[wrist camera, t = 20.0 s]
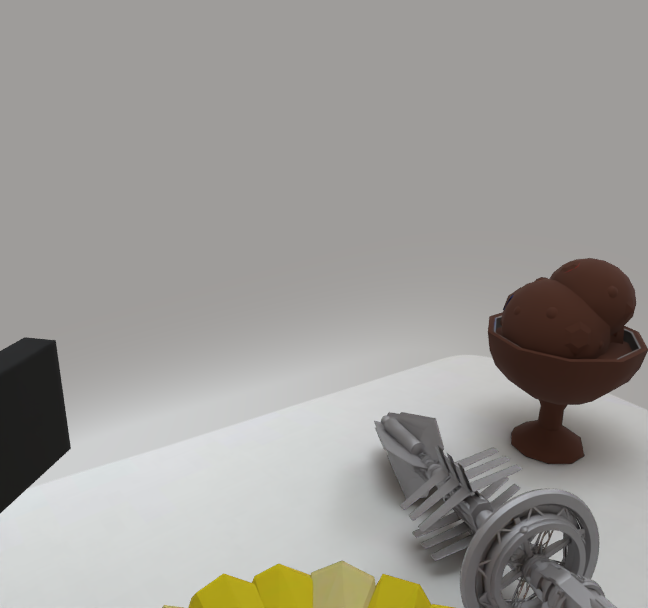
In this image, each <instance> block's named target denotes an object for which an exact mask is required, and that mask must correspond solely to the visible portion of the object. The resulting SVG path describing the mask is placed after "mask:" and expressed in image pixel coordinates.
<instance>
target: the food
mask: <svg viewBox="0 0 648 608" xmlns="http://www.w3.org/2000/svg"><path fill="white" fill-rule="evenodd" d="M162 608H182V607H175V606H167V605H164V606H163V607H162ZM189 608H454V607H448V606H441V605H435V604H432V605H431V604H430V602H429V600H428V598H427V596H426V595H425V593H424V591H423V589H422V588H421V586H420V584H416V583H413V582H409V581H406V580H402V579H399V578H395V577H392V576H389V575H385V574H382V576H381V578H380V580H379V581H378V583H377V585H375V579H374V577H373V576H371V575H369V574H367V573H365V572H363V571H361V570H359V569H357V568H355V567H353V566H352V565H350V564H348V563H346V562H344V561H340V562H337V563H335V564H332V565H330V566H327V567H325V568H322V569H320V570H317V571H314V572H312V573H311V575H308V574H306V573H303V572H300V571H297V570H295V569H292V568H289V567H286V566H284V565H281V564H277V565H275V566H273V567H271V568H269V569H267V570H266V571H264V572H262V573H260V574H258V575H256V576H254V579H253V581H252V583H250V582H247V581H244V580H241V579H238V578H235V577H232V576H229V575H227V574H222V575H221V576H219V577H218V578H217V579H215V580H214V581H212V582H211V583H209V584H208V585H207V586H205V587H204V588H202V589H201V590H200V591H198V592H197V593H196V594H195V595H194V596H193V597H192V598H191V601H190V604H189Z"/></svg>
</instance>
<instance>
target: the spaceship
mask: <svg viewBox="0 0 648 608" xmlns="http://www.w3.org/2000/svg"><path fill="white" fill-rule="evenodd" d="M374 422H375V425H376V428H375V429H376V431H377V434H378V436H379V438H380V441H381V443H382V445H383V448H384V449H385V450H386V451H387V456H388V459H389V461H390V463H391V466H392V468H393V470H394V473H395V475H396V477H397V480H398V482H399V484H400V487H401V489H402V491H403V493H404V496H405V498H406V500H405V501H404V502H403V503H402V504H401V505H400V506H401V507H402V509H403V510H405V509H407V508H408V507H409V506H410V505H412V504H413V503H414V502H415V501H417V500H418V499H419V498H426V497H428V494H429V492H430V490H431V489H432V488H433V487H434V486H436V487H437V488H438V490H437V491H436V492H434V493H433V494H432V495H431V496H430V497H429V498H428V499H427V500H425V501H424V502H423V503H422V504H421V505H420V506H419V507H418V508H416V509H415V510H414V511H413V512H412V513H411V514H410V515H409V517H410V518H411V519H412V520H415V519H416V518H418V517H419V516H420V515H421V514H423V513H424V512H425V511H426V510H428V509H429V508H430V507H431V506H433V505H434V504H435V503H436V502H438V501H439V500H440V499H441V498H443V500H444V502H445V503H444V504H442V505H441V506H440V507H439V508H438V509H437V510H436V511H435V512H433V513H432V514H431V515H430V516H429V517H428V518H427V519H426V520H424V521H423V522H422V523H421V524H420V525H419V526H418V527H419V529H418V530H416V531H414V532H412V533H413V535H414V536H415V537H416V538H417V537H420V536H422V535H425V534H427V533H429V532H432V531H434V530H437V529H439V528H441V527H444V526H446V525H449V524H451V523H453V522H456V521H458V520H461V519H462V520H463V521H464V522H463V523H461V524H459V525H457V526H455V527H453V528H451V529H449V530H447V531H445V532H443V533H441V534H439V535H437V536H435V537H433V538H430V539H428V540H426V541H424V542H422V543H421V544H422V546H423V547H424V548H425V549H427V548H429V547H432V546H434V545H437V544H439V543H441V542H444V541H446V540H448V539H451V538H453V537H456V536H458V535H460V534H463V533H465V532H467V531H468V532H469V533H470V534H471V535H469V536H467V537H465V538H463V539H461V540H459V541H457V542H455V543H453V544H451V545H449V546H447V547H445V548H443V549H441V550H439V551H437V552H435V553H433V554H431V557H432V558H433V559H434V560H435V561H437V560H439V559H441V558H444V557H446V556H448V555H451V554H453V553H455V552H458V551H460V550H462V549H465V548H467V547H468V548H467V550H466V553H465V556H464V559H463V563H462V567H461V574H460V590H461V597H462V601H463V605H464V608H617V607H615V606H614V605H613V604H612V603H611V602H610V601H609V600H607V599H606V598H605V595H604V593H603V591H602V589H601V587H600V586H599V585H598V583H596V582H595V581H593V580H591V578H592V575H593V573H594V570H595V567H596V564H597V559H598V554H599V533H598V528H597V524H596V522H595V519H594V517H593V515H592V513H591V511H590V509H589V508H588V506H587V505H586V504H585V503H584V502H583V501H582V500H581V499H580V498H578V497H577V496H575V495H574V494H571V493H569V492H566V491H563V490H558V489H538V490H533V491H529V492H526V493H523V494H520V495H518V496H516V497H514V498H512V499H511V500H509V501H507V500H508V499H509V498H510V497H512V496H513V495H514V494H515V493H516V492H517V491H518V490H519V489H520V487H519V486H517V485H516V484H513V485H512V486H511V487H510V488H508V489H507V490H506V491H505V492H503V493H502V494H501V495H500V496H498V497H497V498H496V499H495V500H493V501H492V502H491V503H490V502H489V501H488V500H487V499H488V498H489V497H490V496H491V495H492V494H493V493H494V492H495V491H496V490H498V489H499V488H500V487H501V486H502V485H503V484H504V483H505V482H506V481H508V478H507V476H509V475H511V474H513V473H515V472H518V471H520V470H522V468H521V467H520V466H518V465H513V466H511V467H508V468H506V469H503V470H501V471H499V472H496V473H494V474H491V475H489V476H486V477H484V478H481V479H479V480H476V481H474V482H471V483H469V481H468V479H471V478H473V477H475V476H477V475H479V474H481V473H484V472H486V471H488V470H490V469H492V468H494V467H497V466H499V465H501V464H503V463H505V462H507V461H509V460H510V459H509V458H507V457H506V456H502V457H500V458H497V459H495V460H492V461H490V462H487V463H485V464H482V465H480V466H477V467H474V468H472V469H469V470H467V471H464V469H463V468H464V467H466V466H468V465H471V464H473V463H475V462H477V461H479V460H482V459H484V458H486V457H488V456H491V455H493V454H495V453H497V452H499V451H498V450H496V449H495V448H491V449H488V450H485V451H483V452H480V453H478V454H475V455H473V456H470V457H468V458H465V459H462V460H460V461H457V462H455V463H454V461H453V459H452V457H451V456H450V455H449V454H448V453H447V455H448V458H449V459H448V458H447V457H446V456H445V455H444V453H443V450H444V446H443V442H442V439H441V435H440V432H439V428H438V425H437V421H436V418H431V417H425V416H419V415H414V414H408V413H403V412H401V413H400V414H396V413H390V412H389V413H388V415H387V416H384V417H382V419H381V422H377V421H374ZM490 484H491V485H490ZM488 485H490V486H489V487H487V488H486V489H485V490H484V491H482V492H481V493H479V492H478V491H477V490H479V489H481V488H484V487H486V486H488ZM506 501H507V502H506ZM505 502H506V503H505ZM451 509H453V510H454V511H455V512H453V513H451V514H449V515H447V516H445V517H443V516H444V515H445V514H446V513H448V512H449V511H450V510H451ZM441 517H443V518H441ZM440 518H441V519H440ZM576 519H577V520H576ZM579 520H580V521H579ZM577 521H578V522H577ZM578 523H579V524H578ZM579 525H580V527H581V529H580V527H579ZM550 530H552V532H551V534H550ZM553 530H558V531H561V532H563V539H562V540H559V541H557V542H555V543H553V544H551V545H550V546H548V547H547V545H548V542H549V540H550V537H551V535H552V533H553ZM471 531H472V532H473V534H472V532H471ZM543 531H545V532H544V534H543V537H542V539H541V542H540V544H538V543H539V539H540V536H541V534H542V532H543ZM546 531H547V532H546ZM548 531H549V539H548V541H547V542H546V543H544V544H543V545H542V540H543V538H544V536H545V535H546V534H547V533H548ZM538 533H540V534H539V536H538V538H537V541H536V543H535V544H531V541H532V540H533V539H534V537H535V536H536V535H537V534H538ZM545 544H546V546H545V547H543V546H544V545H545ZM538 545H539V546H538ZM567 545H568V549H567ZM543 548H544V549H543ZM562 548H563V560H562V561H561V562H559V561H555V560H551V559H549V557H551V556H552V555H554V554H555V553H556V552H558V551H559V550H561V549H562ZM556 562H557V563H556ZM558 563H560V564H558ZM506 564H507V565H508V566H509V567H510V568H511V569H512V570H511V571H510V572H509V573H508V574H507V575H505V576H504V577H503V578H502V575H503V571H504V569H505V566H506ZM563 564H564V565H563ZM520 577H521V579H520V580H519V579H518V578H520ZM517 579H518V580H519V584H518V586H517V588H516V591H515V593H514V595H513V598H512V599H503V597H502V593H501V590H502V589H503V588H505V587H506V586H508V585H509V584H511V583H512V582H514V581H515V580H517ZM522 579H523V580H522ZM521 581H522V584H521V585H520V583H521ZM525 582H527V586H526V593H525V595H524V597H523V598H522V599H518V597H519V595H520V593H521V590H522V588H523V585H524V583H525ZM528 584H529V586H528ZM520 586H521V588H520V591H519V594H518V588H519V587H520ZM529 587H531V588H532V590H533V591H534V594H532V595H531V596H529V597H528V598H526V599H525V597H526V594H527V592H528V590H529ZM516 593H517V597H516V598H515V595H516ZM535 596H537V597H536V598H534V597H535ZM514 598H515V599H514ZM532 598H534V599H532ZM531 599H532V600H531ZM518 602H519V603H518ZM520 602H522V603H520Z"/></svg>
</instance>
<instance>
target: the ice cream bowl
mask: <svg viewBox="0 0 648 608" xmlns="http://www.w3.org/2000/svg"><path fill="white" fill-rule="evenodd" d="M635 306H636V297H635V290H634V288H633V286H632V284H631V282H630V280H629V278H628V277H627V276H626V275H625V274H624V273H623V272H622V271H621V270H620V269H619V268H618V267H616V266H614V265H612V264H610V263H608V262H606V261H603V260H597V259H592V258H588V259H578V260H574V261H570V262H568V263H566V264H564V265H562V266H561V267H560V268H559V269H557V270H556V271H555V272H554V273H553V274H552V276H551V277H550V279H548V278H543V277H541V278H539V279H536V281H535V282H532V283H529V284H526V285H525V286H523V287H522V288H519V289H518V290H516V291H515V292H514V293H512V294H510V295H509V296H508V298H507V301H506V303H505V306H504V308H503V310H504V311H503V313H499V314H496V315H493V316H490V317H489V327H488V336H489V346H490V352H491V354H492V357H493V360H494V363H495V365H496V366H497V367H498V368H499V370H500V371H501V372H502V373H503V374H504V375H505V376H506V377H507V379H508V380H510V381H511V382H512V383H514V384H515V385H517V386H518V387H519V388H521V389H522V390H524V391H525V392H526V393H528V394H529V395H531V396H532V397H534V398H535V399H539V401H540V404H541V407H540V412H539V418H538V420H535V421H529V422H525V423H523V424H521V425H519V426H517V427H515V428H514V429H513V431H512V433H511V444H512V445H513V446H514V447H515V448H516V449H517V450H519V451H520V452H521V453H522V454H523V455H525V456H527V457H530V458H533V459H536V460H539V461H542V462H545V463H548V464H572V463H573V462H575V461H577V460H578V459H580V458H582V457H583V456H584V452H583V446H582V442H581V438H580V437H579V436H577V435H576V434H574V433H573V432H572V431H570V430H569V429H567V428H566V427H564V426H563V425H562V420H563V412H564V409H565V408H566V406H567V405H579V404H583V403H587V402H592V401H594V400H596V399H597V398H599V397H601V396H603V395H605V394H607V393H609V392H611V391H612V390H614V389H616V388H618V387H619V386H621V385H623V384H625V383H627V382H628V381H629V380H630V379H631V378H632V377H633V376H634V374H635V373H636V372H637V371H638V370H639V368H640V367H641V364H642V362H643V360H644V358H645V356H646V353H647V351H648V348H647V347H646V345H645V343H644V341H643V339H642V337H641V335H640V334H639V332H637V331H635V330H633V329H630V328H628V327H626V326H624V325H625V324H626V323H627V322H628V321H629V320H630V319H631V318H632V317H633V314H634V310H635Z"/></svg>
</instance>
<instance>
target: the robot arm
mask: <svg viewBox="0 0 648 608" xmlns="http://www.w3.org/2000/svg"><path fill="white" fill-rule="evenodd" d="M70 448H71V447H70V440H69V433H68V426H67V418H66V411H65V404H64V397H63V390H62V383H61V376H60V369H59V362H58V355H57V347H56V341H55V340H45V339H35V338H23V339H21V340H19V341H18V342H16V343H14V344H12V345H10V346H9V347H7V348H5V349H3V350H2V351H0V513H1V512H2V511H3V510H4V509H6V508H7V507H8V506H9V505H10V504H11V503H12V502H13V501H14V500H15V499H16V498H17V497H19V496H20V495H21V494H22V493H23V492H24V491H25V490H26V489H27V488H28V487H29V486H30V485H31V484H33V483H34V482H35V481H36V480H37V479H38V478H39V477H40V476H41V475H42V474H44V473H45V472H46V471H47V470H48V469H49V468H50V467H51V466H52V465H53V464H54V463H55V462H56V461H58V460H59V458H61V457H62V456H63V455H64V454H65V453H66V452H67V451H68V450H69V449H70Z"/></svg>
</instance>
